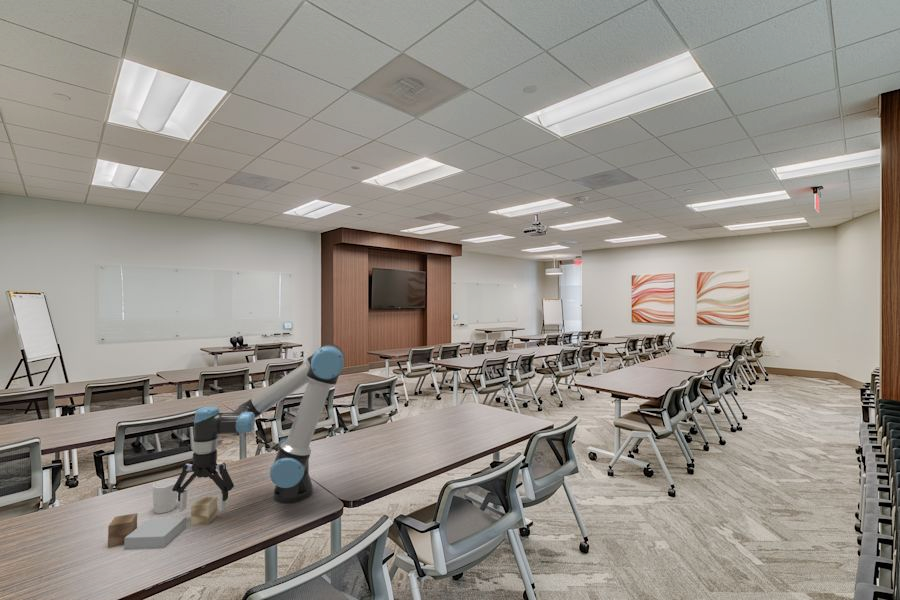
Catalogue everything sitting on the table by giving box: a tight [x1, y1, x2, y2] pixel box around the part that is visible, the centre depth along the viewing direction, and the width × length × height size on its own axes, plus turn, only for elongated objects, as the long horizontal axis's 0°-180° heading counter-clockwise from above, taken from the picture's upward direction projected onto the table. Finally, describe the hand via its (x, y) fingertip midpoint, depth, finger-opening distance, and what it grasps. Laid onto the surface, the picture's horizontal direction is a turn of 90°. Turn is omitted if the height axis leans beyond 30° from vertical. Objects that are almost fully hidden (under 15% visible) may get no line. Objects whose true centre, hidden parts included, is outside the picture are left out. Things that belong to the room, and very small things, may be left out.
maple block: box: [190, 496, 218, 526], centre depth 142 cm, size 6×6×7 cm
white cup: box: [152, 478, 178, 514], centre depth 150 cm, size 8×8×10 cm
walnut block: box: [107, 512, 138, 548], centre depth 130 cm, size 6×6×7 cm
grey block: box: [123, 516, 187, 550], centre depth 131 cm, size 12×12×4 cm
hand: (202, 509), depth 142 cm, fingers open, 13 cm apart
